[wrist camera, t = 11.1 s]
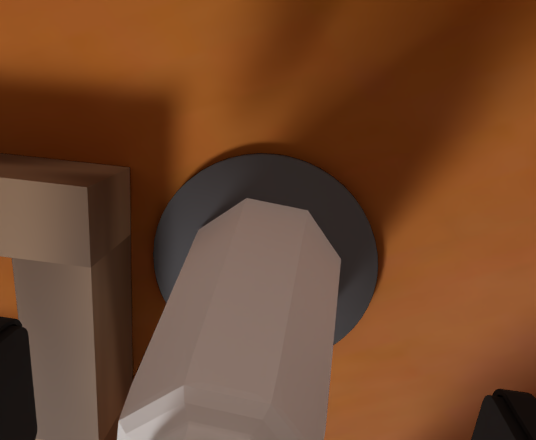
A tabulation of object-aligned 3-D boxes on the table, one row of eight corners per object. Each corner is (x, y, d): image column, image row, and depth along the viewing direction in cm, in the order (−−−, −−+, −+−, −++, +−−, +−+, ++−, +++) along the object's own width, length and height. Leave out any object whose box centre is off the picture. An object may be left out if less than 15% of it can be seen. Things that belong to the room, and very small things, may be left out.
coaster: (395, 166, 14) (397, 168, 14) (357, 370, 17) (358, 376, 16) (157, 141, 15) (153, 143, 14) (156, 342, 17) (152, 348, 17)
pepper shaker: (373, 251, 15) (528, 676, 4) (285, 360, 16) (239, 856, 6) (239, 164, 14) (35, 396, 4) (163, 285, 16) (-126, 679, 5)
